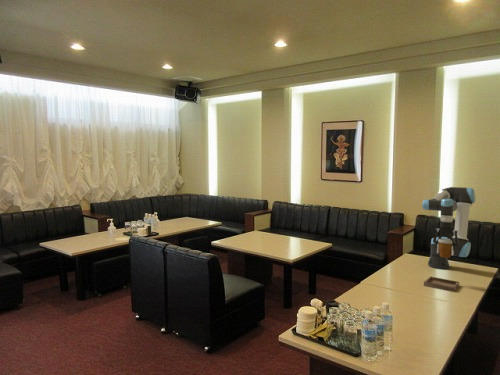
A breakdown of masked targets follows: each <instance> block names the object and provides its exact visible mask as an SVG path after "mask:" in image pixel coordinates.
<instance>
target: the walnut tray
mask: <svg viewBox="0 0 500 375" xmlns="http://www.w3.org/2000/svg"><path fill="white" fill-rule="evenodd" d="M459 285H460V281H456V280H451V279H445V278H439V277H434V276H429V277H427V279H426V280H424V281H423V286H425V287H429V288H434V289H438V290H444V291H449V292H453V293H455V291H456V290H457V289H458V288H459Z"/></svg>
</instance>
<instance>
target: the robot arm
mask: <svg viewBox="0 0 500 375" xmlns="http://www.w3.org/2000/svg"><path fill="white" fill-rule="evenodd" d="M475 203H476V193H475V189H474V188H472V187H464V186H463V187H460V186H459V187H457V186H455V187H454V186H451V187H445V188H442V189H440V190H439V191H438V192H437V193H436V195H435V196H433V197H431V198H430V199H423V200H422V203H421V204H422V205H421V207H422V209H423V210H424V211H425V210H426V211H436V212H438V211H439V212H440V219H439V220H440V223H439V224H440V225H439V228H437V227H436V228H435V229H434V236H433V237H432V238H431V242H430V256H429V259H428V261H427V266H429V267H430V268H435V269H438V270H439V269H441V270H442V269H443V270H444V269H446V270H447V269H449V268H450V261H449V260H448V258H445V257H441V256H440V251H439V242H438V240H439V239H441V238H446V239H450V240H452V242H453V243H452V244H453V245H452V250H451V256H452V257H453V256H454V257H461V258H467V257H468V256H469V254H470V252H471V246H472V244H471V242H470V240H469V239H468V237H467V236H468V226H469V217H470V208H471V207H472V206H473V204H475ZM455 211H456V213H455V221H454V212H455ZM453 221H454V222H455V223H454V224H453ZM453 225H454V228H453ZM439 232H440V234H438V233H439ZM452 233H453V234H452ZM438 235H439V236H438ZM443 235H445V236H443ZM446 236H448V237H449V238H448V237H446Z"/></svg>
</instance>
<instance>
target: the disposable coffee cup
mask: <svg viewBox="0 0 500 375" xmlns="http://www.w3.org/2000/svg"><path fill="white" fill-rule="evenodd" d="M438 242H439V251H440V256H441V257H445V258H447V259H448V258H451V256H452V255H451V250H452V245H453V244H452V243H453V242H452V240H450V238H448V239H446V238H441V239H439V240H438Z"/></svg>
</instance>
